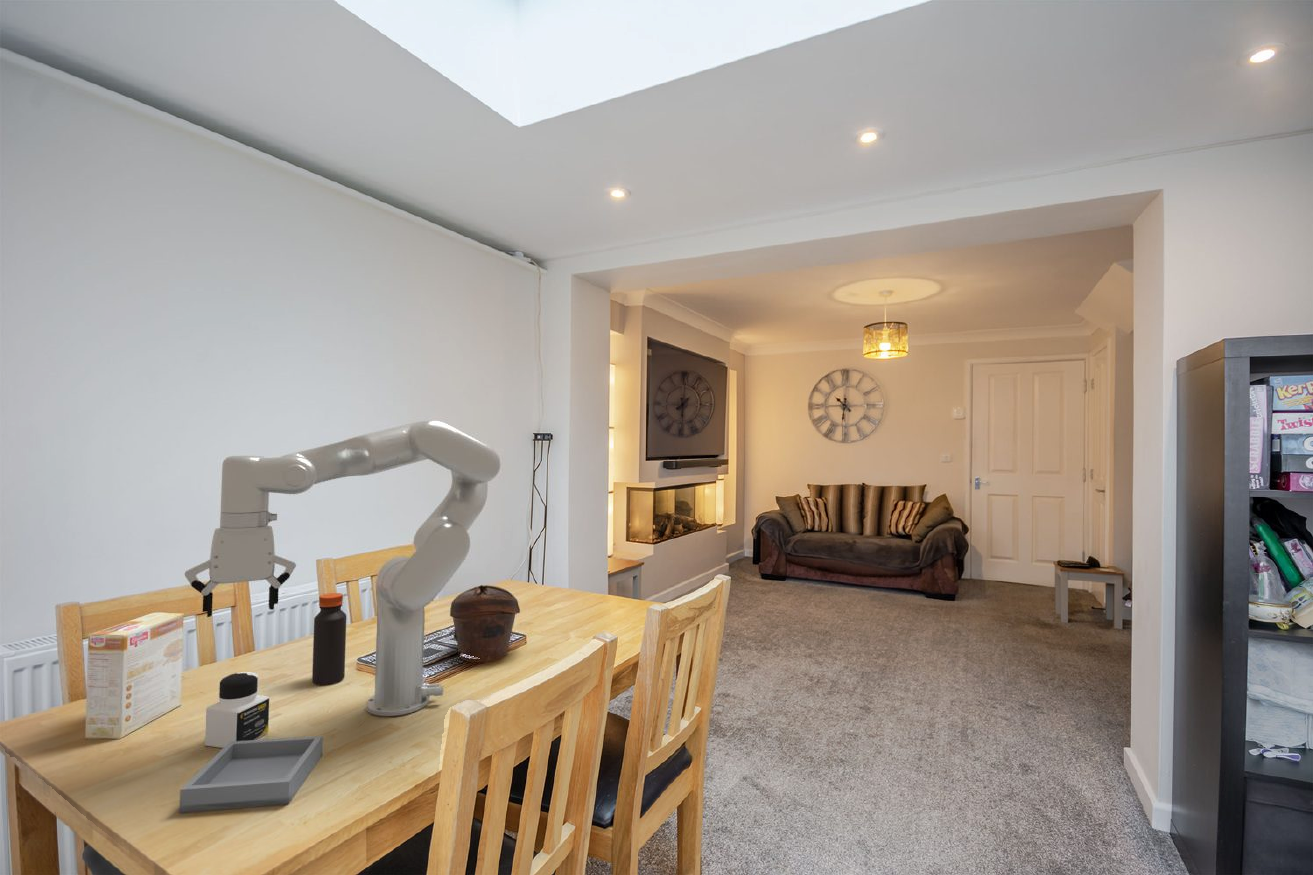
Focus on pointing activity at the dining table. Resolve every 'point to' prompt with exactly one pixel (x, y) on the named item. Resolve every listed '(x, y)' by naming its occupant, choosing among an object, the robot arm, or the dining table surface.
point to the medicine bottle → (237, 711)
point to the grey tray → (252, 774)
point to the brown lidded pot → (484, 622)
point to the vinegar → (329, 641)
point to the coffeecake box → (133, 674)
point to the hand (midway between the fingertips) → (241, 611)
